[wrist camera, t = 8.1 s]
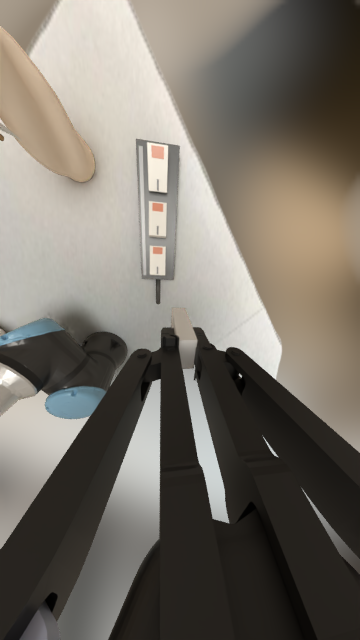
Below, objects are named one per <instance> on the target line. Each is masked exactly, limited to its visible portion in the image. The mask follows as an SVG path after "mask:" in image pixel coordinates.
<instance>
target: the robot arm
mask: <svg viewBox="0 0 360 640" xmlns="http://www.w3.org/2000/svg"><path fill="white" fill-rule="evenodd" d="M126 355H127V347H126V344H125V343H124V341H123V340H122V339H121V338H120V337H118V336H117V335H115V334H112V333H108V332H97V333H94V334H91V335H90V336H88V337H87V338H86V340H85V341H84V342H83V344H82V346H80V345H79V344H78V343H77V342H76V341H75V340H74V339H73V338H72V337H71V336H70V335H69V334H68V333H67V332H66V331H65V329H64V328H62V327H61V326H59V325H58V324H57V323H56V322H55V321H54V320H52V319H49V318H43V319H39V320H37V321H34V322H32V323H29V324H27V325H24V326H22V327H20V328H17V329H15V330H13V331H10V332H8V333H6V334H4V335H2V336H0V416H1V415H3V414H4V413H5V412H6V411H7V410H8V409H9V408H10V407H11V406H12V405H13V404H15V403H16V402H17V401H18V400H20V399H23V398H28V397H32V396H35V395H36V394H37V393H38V392H39V391H40V390H42V391H44V392H45V393H46V394H48V395H49V396H48V397H47V399H46V402H45V407H46V410H47V411H48V412H49V413H50V414H52V415H54V416H56V417H60V418H65V419H80V418H85V417H88V416H90V415H91V416H90V417H89V419H88V421H87V422H86V424H85V425H84V426H83V428H82V430H81V431H80V433H79V434H78V435H77V437H76V439H75V440H74V441H73V443H72V444H71V446H70V448H69V449H68V450H67V452H66V453H65V455H64V456H63V458H62V459H61V461H60V462H59V464H58V465H57V467H56V468H55V470H54V471H53V473H52V474H51V476H50V477H49V479H48V480H47V482H46V483H45V485H44V486H43V488H42V489H41V491H40V492H39V494H38V495H37V497H36V498H35V499H34V501H33V502H32V504H31V505H30V507H29V508H28V510H27V511H26V513H25V515H24V516H23V517H22V519H21V520H20V522H19V523H18V525H17V526H16V528H15V529H14V531H13V532H12V534H11V535H10V537H9V538H8V540H7V541H6V543H5V544H4V546H3V547H2V548H1V549H0V640H60V631H59V627H58V624H57V620H58V618H59V616H60V615H61V613H62V610H63V609H64V606H65V604H66V602H67V600H68V598H69V596H70V594H71V592H72V589H73V587H74V585H75V583H76V581H77V579H78V577H79V574H80V572H81V570H82V567H83V565H84V562H85V559H86V557H87V555H88V552H89V550H90V547H91V545H92V542H93V539H94V536H95V534H96V531H97V528H98V526H99V523H100V521H101V518H102V515H103V513H104V510H105V507H106V505H107V502H108V499H109V497H110V494H111V491H112V489H113V486H114V483H115V481H116V478H117V475H118V473H119V470H120V467H121V464H122V462H123V459H124V456H125V454H126V451H127V448H128V445H129V443H130V440H131V438H132V435H133V432H134V430H135V427H136V424H137V422H138V419H139V416H140V414H141V411H142V408H143V406H144V403H145V400H146V398H147V395H148V392H149V390H150V387H151V384H152V381H155V380H158V379H161V405H160V412H161V413H160V539H159V540H158V541H157V542H156V543H155V544H154V546H153V547H152V548H151V549H150V551H149V552H148V554H147V555H146V557H145V558H144V560H143V562H142V564H141V566H140V568H139V569H138V572H137V574H136V576H135V578H134V580H133V583H132V585H131V587H130V590H129V592H128V595H127V597H126V599H125V601H124V604H123V606H122V609H121V611H120V613H119V616H118V618H117V620H116V623H115V625H114V627H113V630H112V632H111V634H110V637H109V639H108V640H360V574H358V572H357V571H356V570H355V569H354V568H353V567H352V566H351V565H350V564H349V563H348V562H347V561H346V560H345V559H344V558H343V557H342V556H341V555H340V554H339V552H338V551H337V549H336V547H335V546H334V544H333V542H332V540H331V539H330V537H329V535H328V534H327V532H326V530H325V528H324V527H323V525H322V523H321V521H320V520H319V518H318V516H317V514H316V513H315V511H314V509H313V508H312V506H311V504H310V502H309V501H308V499H307V497H306V495H305V494H304V492H305V493H306V494H307V496H308V497H309V498H310V500H311V501H312V502H313V504H314V505H315V506H316V508H317V509H318V510H319V512H320V513H321V514H322V515H323V517H324V518H325V519H326V521H327V522H328V523H329V524H330V526H331V527H332V528H333V529H334V530H335V532H336V533H337V534H338V535H339V536H340V537H341V539H342V540H343V541H344V542H345V543H346V544H347V545H348V547H349V548H351V550H352V551H353V552H354V553H355V554H356V555H357V556H358V557H359V559H360V453H359V452H358V451H357V450H356V449H354V448H353V447H352V446H351V445H350V444H348V442H347V441H345V440H344V439H343V438H342V437H341V436H339V435H338V434H337V433H336V432H335V431H334V430H333V429H332V428H330V427H329V426H328V425H327V424H326V423H325V422H323V421H322V420H321V419H320V418H319V417H318V416H317V415H315V414H314V413H313V412H312V411H311V410H310V409H309V408H307V407H306V406H305V405H304V404H303V403H302V402H300V401H299V400H298V399H297V398H296V397H295V396H294V395H292V394H291V393H290V392H289V391H288V390H287V389H286V388H284V387H283V386H282V385H281V384H280V383H278V382H277V381H276V380H275V379H274V378H273V377H272V376H271V375H269V374H268V373H267V372H266V371H265V370H264V369H262V368H261V367H260V366H259V365H258V364H257V363H256V362H254V361H253V360H252V359H251V358H250V357H249V356H248V355H246V354H245V353H244V352H243V351H242V350H240V349H238V348H234V347H230V348H227V350H226V352H224V351H219V350H217V349H216V347H215V346H214V345H212V344H210V343H209V341H208V339H207V337H206V335H205V334H204V331H203V330H202V329H201V328H199V327H192V324H191V322H190V319H189V317H188V314H187V311H186V309H185V308H172V319H171V328H163V329H162V330H161V348H160V349H159V350H157V351H155V352H151V351H149V350H148V349H138V350H136V351H134V352H133V353H132V355H131V356H130V358H129V359H128V361H127V362H126V364H125V365H124V367H123V368H122V370H121V371H120V373H119V374H118V376H117V377H116V379H115V380H114V382H113V383H112V385H111V386H110V384H111V381H112V378H113V376H114V373H115V370H116V369H117V368H118V367H119V366H120V365H121V364H122V363H123V362H124V360H125V358H126ZM194 364H195V375H194V380H195V379H197V383H198V387H199V391H200V394H201V398H202V402H203V406H204V410H205V414H206V418H207V422H208V425H209V429H210V433H211V437H212V441H213V445H214V448H215V453H216V456H217V460H218V464H219V468H220V472H221V476H222V480H223V483H224V488H225V501H226V508H227V514H228V518H229V523H230V524H229V523H225V522H222V521H218V520H214V519H212V514H211V508H210V503H209V497H208V492H207V487H206V482H205V477H204V473H203V470H202V467H201V466H200V464H199V461H198V457H197V452H196V446H195V439H194V433H193V428H192V422H191V416H190V410H189V405H188V399H187V393H186V387H185V382H184V375H183V370H182V369H189V368H194ZM239 373H240V374H241V375H242V378H241V377H240V376H239ZM109 387H110V388H109ZM262 435H263V436H262ZM263 437H264V438H265V439H266V441H267V442H268V443H269V445H270V446H271V448H272V449H273V450H274V452H275V453H276V454H277V456H278V457H276V456H274V455H273V454H272V452H271V451H270V449H269V447H268V445H267V444H266V442H265V440H264V438H263ZM300 486H301V487H300ZM302 489H303V490H304V492H303V490H302Z"/></svg>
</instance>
